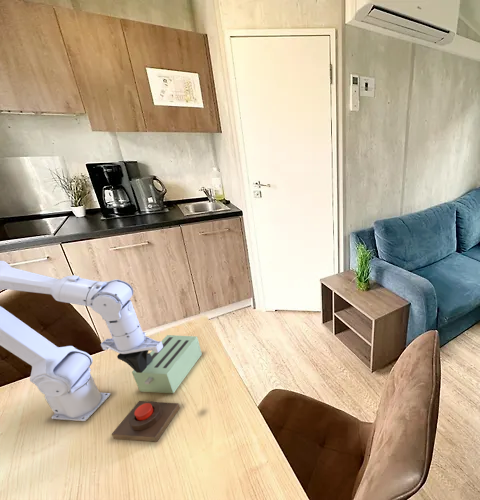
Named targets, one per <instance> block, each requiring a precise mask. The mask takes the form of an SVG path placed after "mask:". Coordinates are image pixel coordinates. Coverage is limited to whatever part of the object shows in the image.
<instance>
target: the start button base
mask: <svg viewBox="0 0 480 500" xmlns="http://www.w3.org/2000/svg"><path fill="white" fill-rule="evenodd" d="M145 403H150V404H151V405H152V407H153V410H154V411H153V414H152V415H151V416H150V417H149V418H147V419H146V420H143V421H138V420H137V419H136V417H135V414H134V413H135V410H136V409H137V408H138V407H139V406H141V405H142V404H145ZM180 409H181V406H180V404H179V402H163V401H148V400H138V401H137V402H136V404H135V405H134V406H133V408H132V409H131V410H130V411H129V412H128V414H126V416H125V417H124V419H123V420H122V421H121V422H120V423H119V424H118V426H117V427H116V429H114V431H113V432H112V433H111V436H112V438H113V439H116V440H129V441H130V440H131V441H141V442H142V441H143V442H155V443H157V442H159V440H160V438H161V437H162V436H163V434H164V432H165V431H166V429H167V428H168V427H169V425H170V423H171V422H172V420H173V419H174V417H175V416H176V414H177V413H178V411H179V410H180Z"/></svg>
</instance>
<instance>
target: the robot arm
mask: <svg viewBox="0 0 480 500" xmlns="http://www.w3.org/2000/svg"><path fill="white" fill-rule="evenodd" d="M2 290H3V291H4V290H10V291H18V292H25V293H26V292H28V293H36V294H45V295H51V296H52V298H53V299H54V300H55V301H57V302H60V303H67V304H72V305H78V306H84V307H90V308H91V310H92V311H94V312H95V313H97V314H99V316H100V317H101V319H102V321H103V320H104V321H105V324H106V326H107V329H108V331H109V333H110V335H111V338H106V339H104V340H103V341H102V342H101V343H100V346H101V348H102V350H104V351H108V350H109V349H110V350H112V351H113V352H116V353H118V355H117V356H116V358H117V359H118V360H120V361H122V362H124V363H126V364H127V365H128V366H129V367H130V368H131V369H132V370H135V371H136V372H137V373H142V372H143V371H144V370H145V369H146V368H147V354H148V353H149V351H154V352H155V353H158V352H159V351H160V350H161V349H162V348H163V345H162V342H161V341H162V340H161V341H159V340H156V339H154V338H151V337H149V336H147V333H146V332H145V331H143V329H142V326H141V323H140V321H139V318H138V316H137V313H136V310H135V308H134V305H133V302H132V300H131V298H132V297H133V295H134V288H133V286H132V285H131V284H130V283H128V282H127V281H124V280H121V279H118V278H117V279H111V280H109V281H107V280H103V281H102V280H101V281H100V280H94V279H88V278H84V277H83V278H82V277H80V275H75V274H73V275H66V276H63V277H62V278H56V277H52V276H48V275H44V274H39V273H35V272H32V271H28V270H24V269H20V268H15V267H12V266H11V265H10V264H9V263H8V262H6V261H5V260H0V291H2ZM0 347H2V348H4V349H5V350H7V351H8V352H9V353H12V354H13V355H14V356H16V357H17V358H19V359H20V360H22V361H23V362H25V363H26V364H28V365H30V366H31V372H30V376H29V382H30V383H32V384H34V385H35V386H36V387H37V389H38V391H39V392H40V393H41V394H42V395H44V399H45V401H46V403H47V404H48V406H49V407H50V409H51V410H52V412H53V415H52V416H51V417H50V418H51V419H52V420H61V421H77V422H86V421H88V420H89V419H90V417H91V416H92V415H93V414H94V413H95V412H96V411H97V410H98V409H99V408H100V407H101V406H102V405H103V404H104V403H105V402H106V401H107V399H109V398H110V397H111V395H112V394H111V393H110V392H101V391H100V390H99V388H98V386H97V384H96V382H95V380H94V378H93V376H92V374H91V372H92V369H91V366H92V365H93V363H94V360H93V359H94V358H93V357H92V355H90V354H89V353H88V352H86V351H84V350H81V349H78V348H77V347H74V346H73V345H66V346H60V347H59V346H57V345H55V343H53V342H52V341H50V340H49V339H47V338H46V337H45V336H43V335H41V334H40V333H39V332H37V331H36V330H35V329H33V328H31V326H29V325H28V324H26V323H25V322H23V320H20V318H18V317H16V316H15V315H14V314H13V313H11V312H9V311H8V310H6V309H5V308H4V307H3V306H1V305H0Z"/></svg>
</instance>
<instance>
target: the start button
mask: <svg viewBox="0 0 480 500" xmlns="http://www.w3.org/2000/svg"><path fill="white" fill-rule="evenodd" d="M153 411H154V410H153V407H152V405H151V404H150V403H145V404H142V405H141V406H139V407H138V408H137V409H136V410H135V413H134V414H135V417H136V419H137V420H138V421H143V420H146V419H147V418H149V417H150V416H151V415H152V414H153Z"/></svg>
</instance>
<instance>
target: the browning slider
mask: <svg viewBox="0 0 480 500" xmlns="http://www.w3.org/2000/svg"><path fill="white" fill-rule="evenodd" d="M150 353H151V352H148V354H147V365H149V364H150V363H151V362H152V357H151V354H150Z"/></svg>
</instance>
